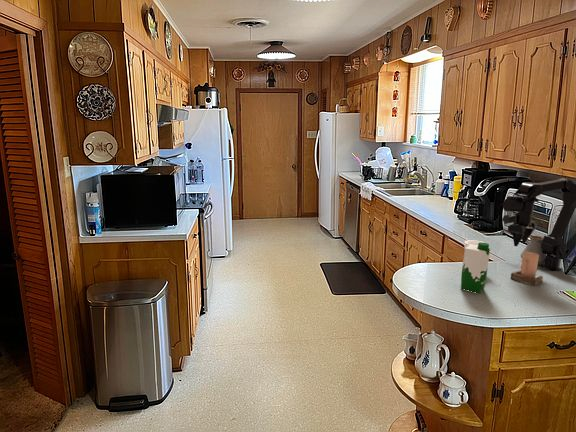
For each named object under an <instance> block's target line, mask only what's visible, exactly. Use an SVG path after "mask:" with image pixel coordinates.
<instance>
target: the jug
mask: <svg viewBox="0 0 576 432" xmlns="http://www.w3.org/2000/svg"><path fill="white" fill-rule="evenodd" d="M522 252H523V251H522ZM538 258H539V254H537V253H533V252H523V257H522V258H521V264H520V270H521V271H520V275H522V276H525V277H528V278H532V279H535V278H537V277H536V276H537V269H538V265H537V264H538Z"/></svg>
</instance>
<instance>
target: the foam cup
mask: <svg viewBox="0 0 576 432" xmlns="http://www.w3.org/2000/svg"><path fill="white" fill-rule="evenodd" d="M478 243H486V242H484V241H481V240H473V239H472V240H471V239H470V240H464V249H465V248H466V247H467V246H469V245H470V244H473V245H478Z"/></svg>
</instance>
